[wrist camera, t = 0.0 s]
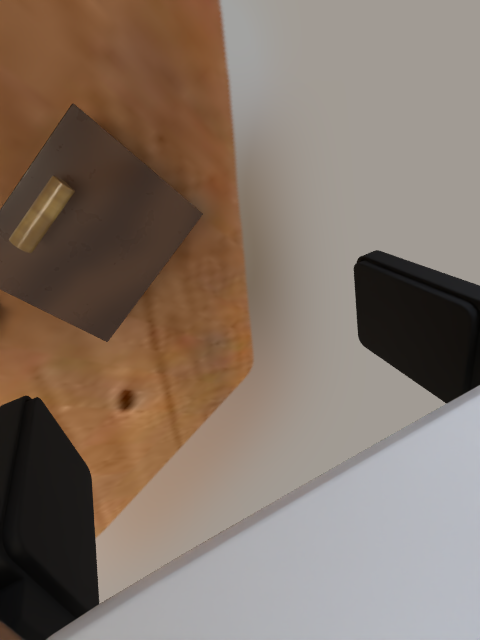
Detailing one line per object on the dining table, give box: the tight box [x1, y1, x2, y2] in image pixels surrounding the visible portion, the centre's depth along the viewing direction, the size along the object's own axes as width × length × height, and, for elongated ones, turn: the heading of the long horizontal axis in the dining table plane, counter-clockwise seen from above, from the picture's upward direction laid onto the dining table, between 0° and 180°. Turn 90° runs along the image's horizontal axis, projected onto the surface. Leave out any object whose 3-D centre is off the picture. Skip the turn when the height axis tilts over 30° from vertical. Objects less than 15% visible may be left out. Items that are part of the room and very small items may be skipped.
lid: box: [0, 104, 203, 342], centre depth 32 cm, size 14×17×5 cm
